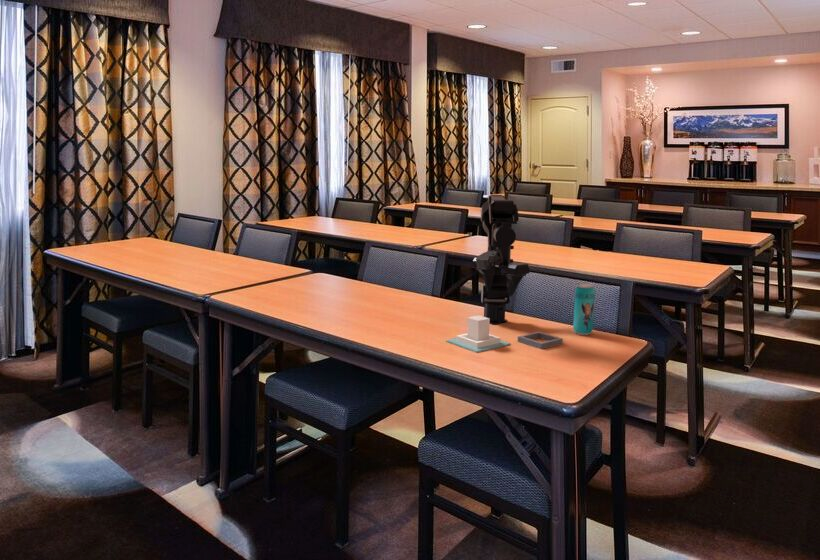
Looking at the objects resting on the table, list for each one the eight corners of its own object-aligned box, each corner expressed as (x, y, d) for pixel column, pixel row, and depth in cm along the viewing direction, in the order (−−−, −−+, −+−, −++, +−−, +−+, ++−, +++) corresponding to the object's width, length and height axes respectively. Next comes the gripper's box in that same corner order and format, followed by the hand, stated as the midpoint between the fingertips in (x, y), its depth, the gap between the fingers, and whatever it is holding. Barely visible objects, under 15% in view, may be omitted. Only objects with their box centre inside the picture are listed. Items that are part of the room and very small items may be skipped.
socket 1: (445, 341, 180) (446, 335, 179) (479, 334, 187) (479, 328, 187) (476, 352, 169) (476, 346, 169) (510, 344, 177) (510, 338, 177)
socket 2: (517, 341, 180) (517, 336, 180) (538, 336, 186) (538, 331, 185) (541, 349, 173) (541, 343, 173) (562, 343, 179) (562, 338, 178)
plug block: (467, 341, 179) (467, 317, 177) (479, 338, 182) (480, 315, 180) (477, 344, 175) (478, 320, 174) (490, 341, 178) (491, 318, 177)
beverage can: (579, 336, 186) (582, 287, 183) (569, 331, 191) (572, 283, 188) (596, 335, 187) (599, 286, 184) (585, 330, 193) (588, 282, 190)
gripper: (460, 240, 187) (458, 291, 190) (504, 248, 173) (502, 302, 176) (486, 238, 194) (485, 287, 197) (532, 244, 179) (529, 297, 182)
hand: (499, 293), depth 188 cm, fingers open, 9 cm apart
